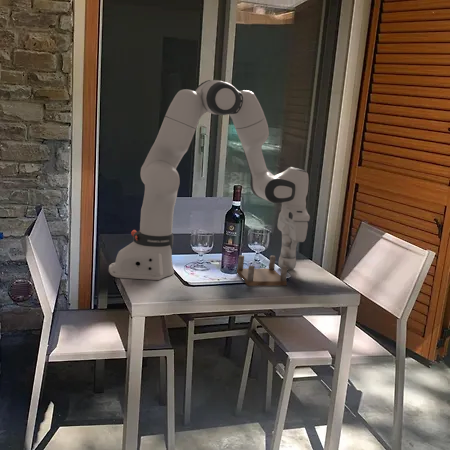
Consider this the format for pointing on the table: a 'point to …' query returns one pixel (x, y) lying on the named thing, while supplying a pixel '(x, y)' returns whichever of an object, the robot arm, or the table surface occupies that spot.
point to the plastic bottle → (287, 250)
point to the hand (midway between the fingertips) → (288, 247)
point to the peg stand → (262, 274)
